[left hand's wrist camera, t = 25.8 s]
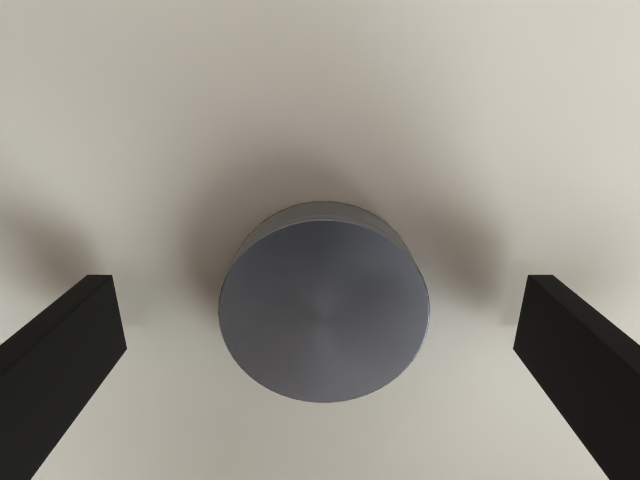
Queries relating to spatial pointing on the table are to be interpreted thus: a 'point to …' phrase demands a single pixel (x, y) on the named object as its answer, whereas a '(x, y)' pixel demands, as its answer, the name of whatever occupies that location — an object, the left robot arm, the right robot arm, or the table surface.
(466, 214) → the table surface
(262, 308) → the lid
